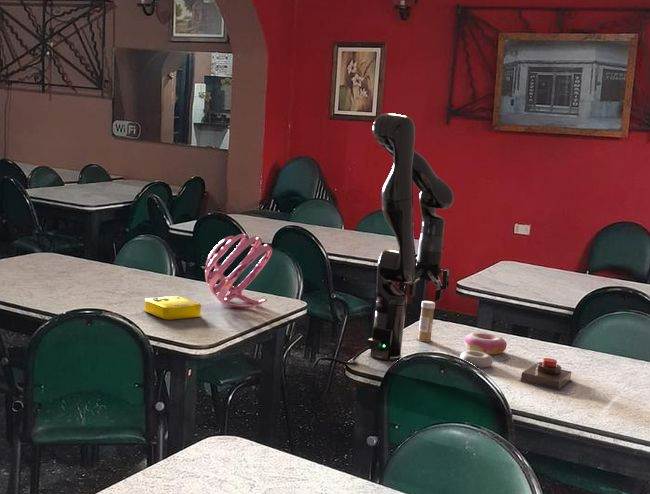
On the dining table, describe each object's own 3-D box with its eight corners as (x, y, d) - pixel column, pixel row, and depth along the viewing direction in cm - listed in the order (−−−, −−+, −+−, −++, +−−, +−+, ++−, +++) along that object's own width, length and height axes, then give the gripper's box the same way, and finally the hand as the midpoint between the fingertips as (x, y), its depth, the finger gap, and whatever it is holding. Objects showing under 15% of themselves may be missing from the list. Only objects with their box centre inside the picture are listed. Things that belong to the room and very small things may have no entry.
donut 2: (490, 371, 260) (493, 363, 269) (491, 360, 259) (494, 352, 269) (457, 365, 263) (461, 357, 272) (458, 355, 262) (463, 347, 272)
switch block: (557, 390, 246) (560, 375, 245) (520, 381, 252) (522, 366, 251) (570, 380, 258) (572, 365, 257) (534, 371, 264) (536, 357, 263)
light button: (553, 369, 253) (554, 362, 252) (540, 366, 255) (541, 359, 254) (557, 366, 256) (558, 360, 256) (544, 363, 258) (545, 357, 258)
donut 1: (456, 348, 284) (457, 333, 283) (476, 343, 294) (478, 329, 293) (491, 358, 275) (493, 343, 274) (512, 352, 285) (514, 338, 284)
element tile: (165, 320, 286) (166, 306, 285) (142, 310, 297) (143, 297, 296) (202, 316, 296) (203, 303, 295) (178, 307, 307) (179, 294, 306)
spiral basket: (305, 257, 320) (252, 210, 324) (269, 284, 297) (212, 233, 301) (270, 305, 335) (219, 260, 339) (232, 334, 312) (179, 285, 316)
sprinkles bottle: (433, 341, 290) (438, 303, 288) (423, 342, 288) (428, 303, 286) (424, 338, 294) (429, 300, 292) (414, 338, 292) (419, 300, 289)
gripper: (404, 246, 270) (399, 296, 272) (447, 253, 262) (440, 304, 265) (414, 244, 276) (409, 293, 279) (456, 251, 269) (449, 301, 271)
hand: (424, 298), depth 272 cm, fingers open, 8 cm apart
